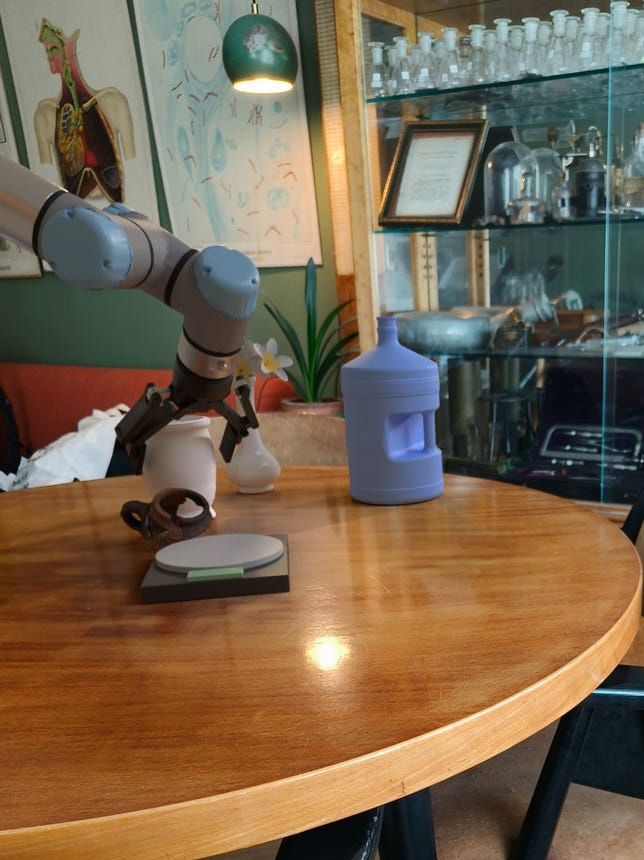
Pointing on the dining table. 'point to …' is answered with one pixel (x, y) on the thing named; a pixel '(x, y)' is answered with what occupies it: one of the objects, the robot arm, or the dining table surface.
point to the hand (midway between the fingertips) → (181, 462)
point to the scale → (218, 568)
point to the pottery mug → (168, 515)
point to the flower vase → (251, 459)
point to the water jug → (391, 422)
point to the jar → (182, 461)
